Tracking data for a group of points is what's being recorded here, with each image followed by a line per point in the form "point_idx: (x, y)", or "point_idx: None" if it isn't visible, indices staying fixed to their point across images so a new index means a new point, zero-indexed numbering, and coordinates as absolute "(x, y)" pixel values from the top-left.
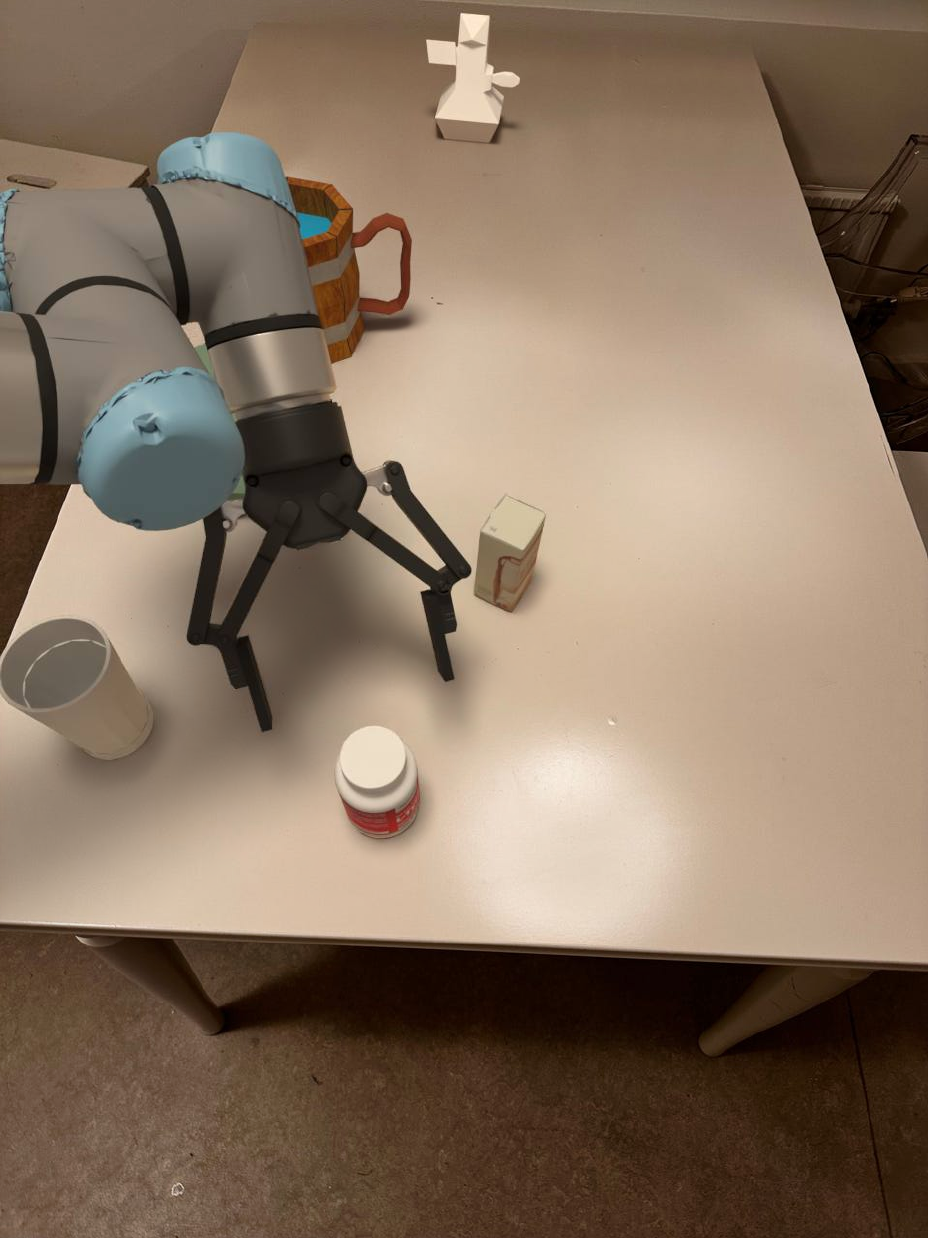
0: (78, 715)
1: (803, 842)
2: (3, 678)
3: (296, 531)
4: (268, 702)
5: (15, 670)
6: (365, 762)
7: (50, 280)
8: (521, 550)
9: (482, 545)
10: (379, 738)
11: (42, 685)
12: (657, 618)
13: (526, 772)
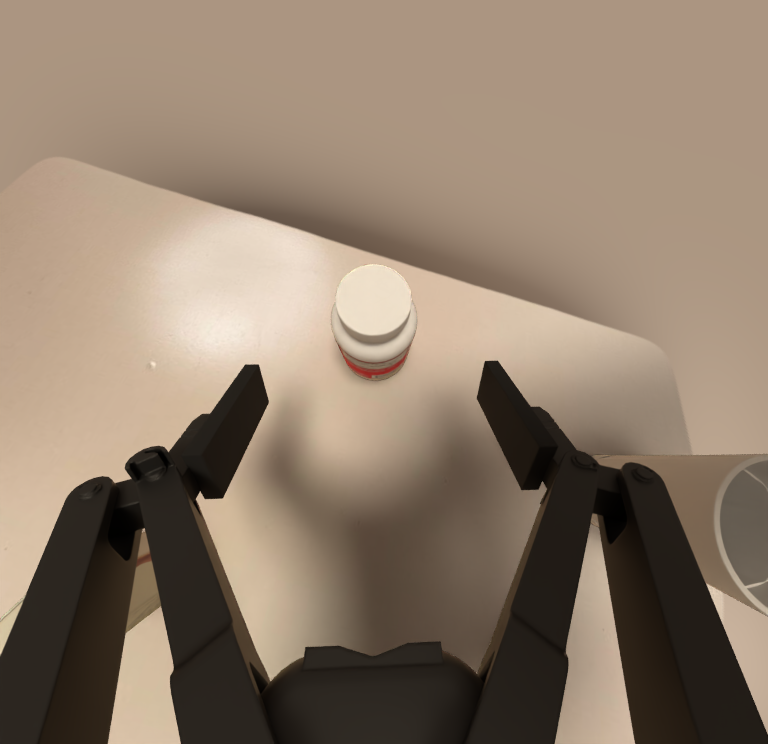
0: (715, 456)
1: (65, 232)
2: None
3: (438, 729)
4: (483, 408)
5: None
6: (383, 294)
7: None
8: None
9: (130, 604)
10: (360, 316)
11: (739, 532)
12: (39, 461)
13: (248, 341)
